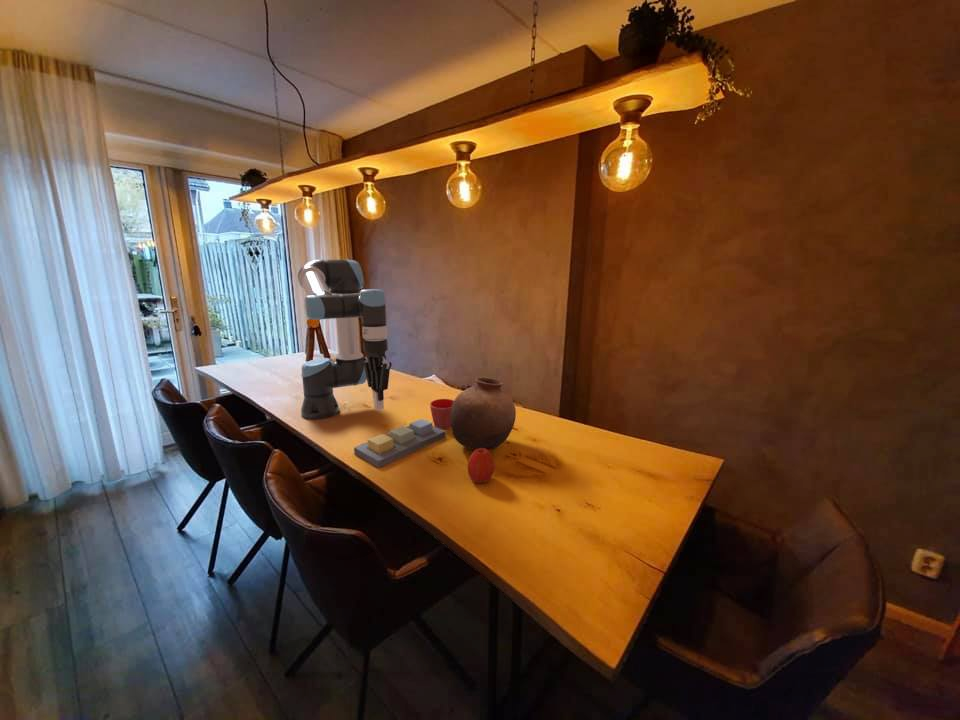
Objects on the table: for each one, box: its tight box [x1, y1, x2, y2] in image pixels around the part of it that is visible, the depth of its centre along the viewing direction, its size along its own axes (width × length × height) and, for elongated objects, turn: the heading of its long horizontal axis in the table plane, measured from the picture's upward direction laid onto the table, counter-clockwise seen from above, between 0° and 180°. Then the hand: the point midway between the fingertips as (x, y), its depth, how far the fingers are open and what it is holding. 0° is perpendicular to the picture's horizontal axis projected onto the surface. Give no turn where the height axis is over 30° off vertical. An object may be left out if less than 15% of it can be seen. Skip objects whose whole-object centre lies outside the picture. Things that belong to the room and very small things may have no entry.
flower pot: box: [429, 398, 455, 430], centre depth 153 cm, size 11×11×10 cm
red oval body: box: [467, 448, 496, 484], centre depth 114 cm, size 8×8×11 cm
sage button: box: [389, 425, 414, 445], centre depth 136 cm, size 6×6×4 cm
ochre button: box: [367, 433, 394, 454], centre depth 129 cm, size 6×6×4 cm
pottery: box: [450, 377, 517, 451], centre depth 134 cm, size 23×23×25 cm
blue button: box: [409, 418, 433, 436], centre depth 143 cm, size 6×6×4 cm
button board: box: [353, 425, 447, 469], centre depth 136 cm, size 14×30×2 cm, turn 140°
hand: (379, 408), depth 126 cm, fingers closed
